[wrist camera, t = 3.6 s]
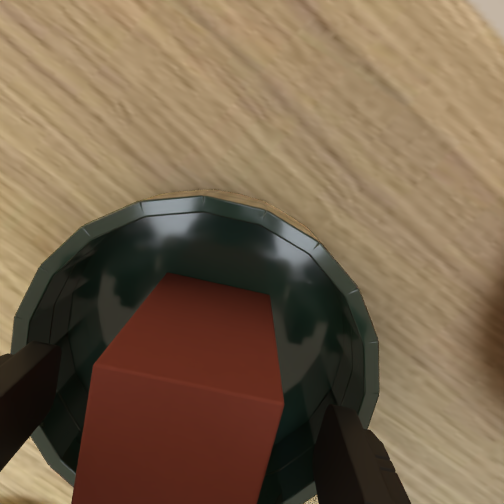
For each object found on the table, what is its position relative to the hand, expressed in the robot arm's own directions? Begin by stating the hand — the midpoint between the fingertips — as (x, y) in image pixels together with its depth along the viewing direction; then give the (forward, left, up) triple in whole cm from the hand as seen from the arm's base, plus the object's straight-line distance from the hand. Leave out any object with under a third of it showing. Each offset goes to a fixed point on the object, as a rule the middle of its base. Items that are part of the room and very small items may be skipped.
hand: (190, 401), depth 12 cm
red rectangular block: (0, 0, -4) cm, 4 cm away
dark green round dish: (0, 0, -4) cm, 4 cm away
